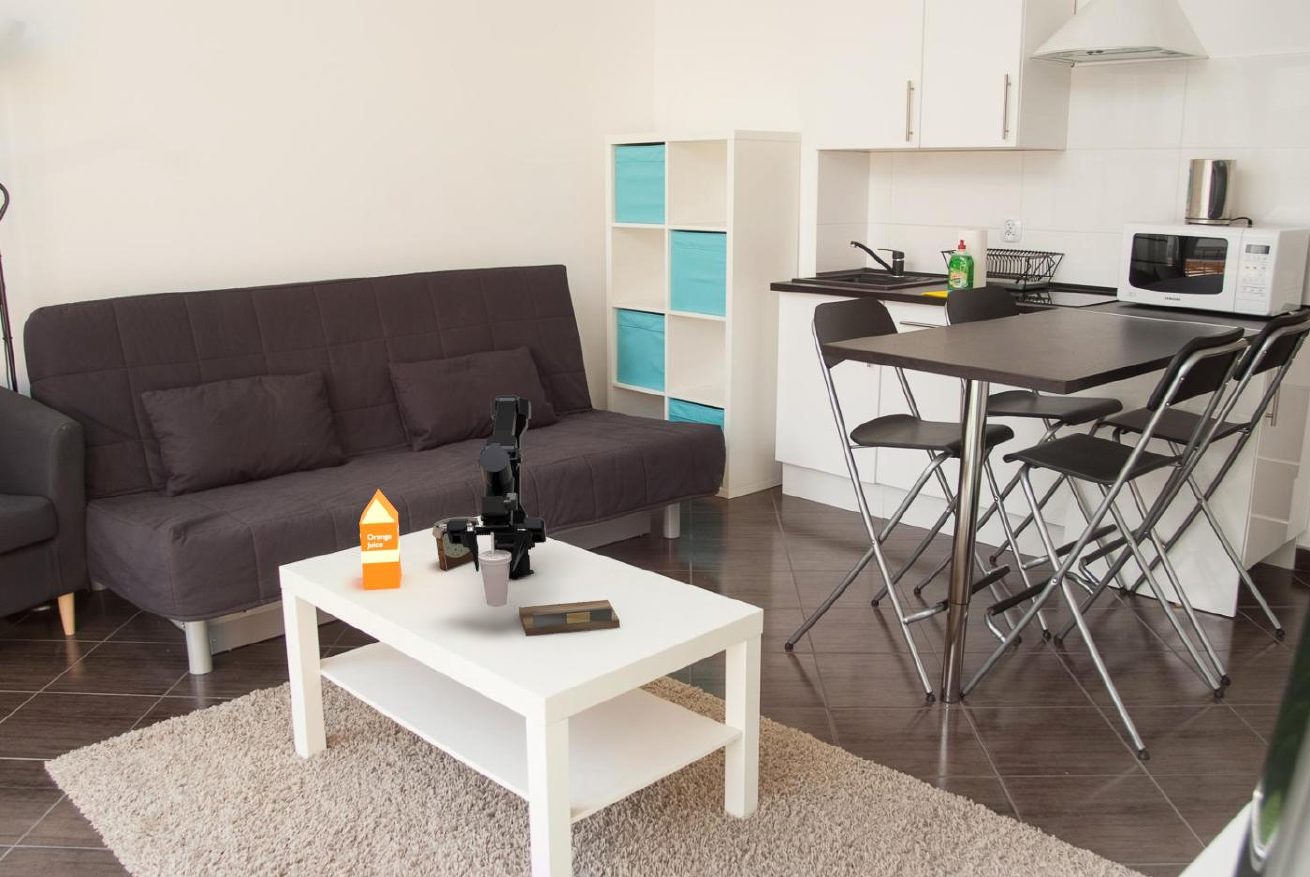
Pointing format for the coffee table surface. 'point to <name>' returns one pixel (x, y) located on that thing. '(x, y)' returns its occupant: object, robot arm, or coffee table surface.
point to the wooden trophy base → (568, 617)
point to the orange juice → (380, 545)
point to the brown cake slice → (451, 546)
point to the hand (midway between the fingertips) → (494, 570)
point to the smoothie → (495, 574)
